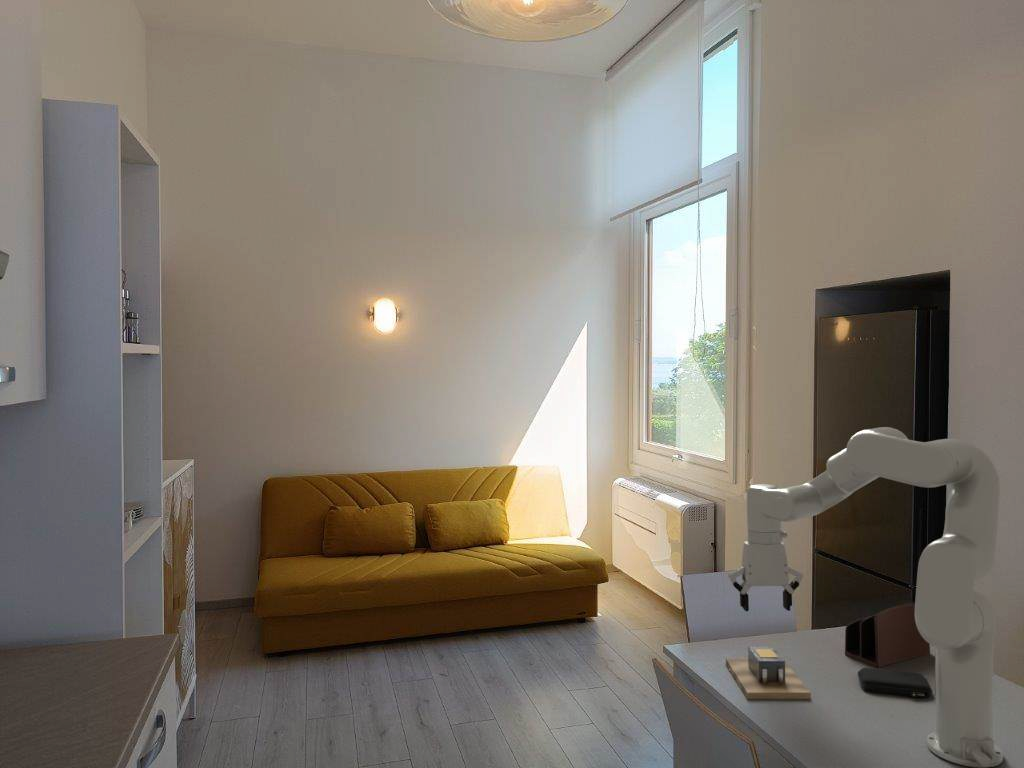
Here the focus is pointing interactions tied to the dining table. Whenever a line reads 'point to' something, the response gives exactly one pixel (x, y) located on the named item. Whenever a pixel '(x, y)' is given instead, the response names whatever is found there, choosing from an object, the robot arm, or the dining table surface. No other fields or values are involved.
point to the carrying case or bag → (894, 682)
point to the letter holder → (886, 637)
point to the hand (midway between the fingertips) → (766, 609)
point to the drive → (765, 663)
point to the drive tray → (766, 690)
